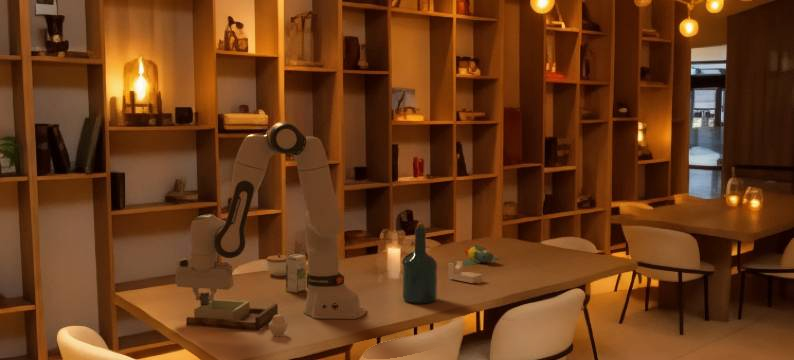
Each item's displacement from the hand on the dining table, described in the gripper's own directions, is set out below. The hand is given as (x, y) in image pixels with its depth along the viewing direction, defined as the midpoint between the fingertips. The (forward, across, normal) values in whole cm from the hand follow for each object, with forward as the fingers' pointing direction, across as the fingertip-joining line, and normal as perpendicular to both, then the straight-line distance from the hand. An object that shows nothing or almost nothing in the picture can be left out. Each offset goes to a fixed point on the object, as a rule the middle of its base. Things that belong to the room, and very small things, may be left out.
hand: (204, 300), depth 253 cm
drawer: (+5, -6, 0) cm, 8 cm away
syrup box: (+7, -18, -45) cm, 49 cm away
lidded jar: (+7, -1, -71) cm, 71 cm away
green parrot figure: (+7, -85, -118) cm, 146 cm away
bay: (+6, -10, 0) cm, 12 cm away
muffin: (+7, -31, +12) cm, 34 cm away
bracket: (+7, -82, -79) cm, 114 cm away
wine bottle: (+7, -68, -42) cm, 81 cm away
